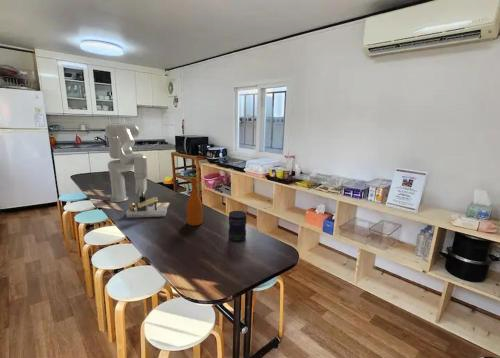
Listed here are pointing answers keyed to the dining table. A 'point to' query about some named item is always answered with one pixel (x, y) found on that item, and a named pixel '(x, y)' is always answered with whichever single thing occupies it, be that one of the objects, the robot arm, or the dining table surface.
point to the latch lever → (147, 202)
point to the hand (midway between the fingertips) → (142, 202)
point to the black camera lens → (237, 226)
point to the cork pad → (162, 204)
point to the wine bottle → (194, 206)
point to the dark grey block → (141, 207)
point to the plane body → (146, 211)
